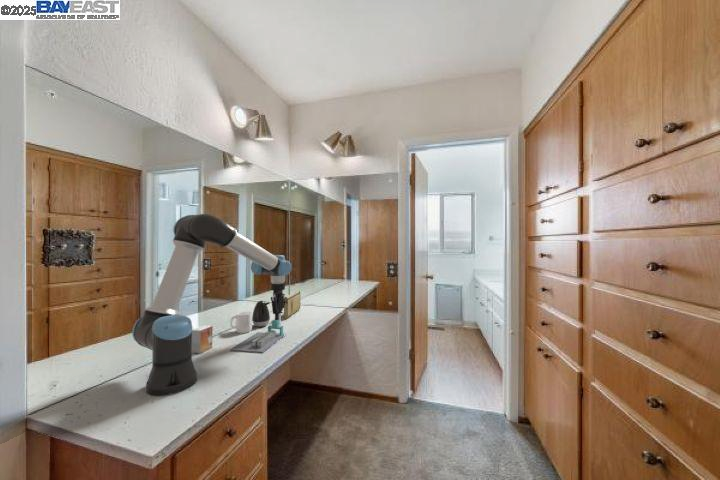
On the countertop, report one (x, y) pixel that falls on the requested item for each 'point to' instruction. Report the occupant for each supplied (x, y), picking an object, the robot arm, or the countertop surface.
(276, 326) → the lock collar
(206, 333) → the small box
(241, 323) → the mug
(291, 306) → the clutch purse
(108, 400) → the countertop surface
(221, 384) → the countertop surface
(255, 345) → the swing arm
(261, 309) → the pump dispenser
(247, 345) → the mat
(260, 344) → the tongs base
